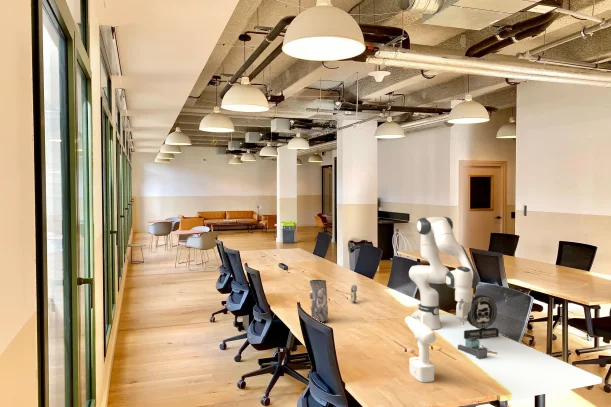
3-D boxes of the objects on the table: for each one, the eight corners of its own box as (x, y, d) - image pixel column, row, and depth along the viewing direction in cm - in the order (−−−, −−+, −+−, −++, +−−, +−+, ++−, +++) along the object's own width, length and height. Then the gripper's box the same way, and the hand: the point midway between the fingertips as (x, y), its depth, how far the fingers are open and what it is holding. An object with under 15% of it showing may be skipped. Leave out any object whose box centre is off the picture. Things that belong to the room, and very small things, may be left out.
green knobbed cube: (465, 347, 249) (465, 338, 249) (472, 346, 251) (473, 337, 251) (471, 350, 244) (471, 341, 244) (479, 349, 246) (479, 340, 246)
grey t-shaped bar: (455, 349, 245) (455, 338, 245) (463, 347, 248) (463, 336, 248) (479, 359, 231) (479, 346, 231) (487, 357, 234) (487, 344, 234)
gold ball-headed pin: (482, 352, 241) (482, 350, 241) (483, 351, 243) (483, 349, 243) (495, 354, 238) (495, 353, 237) (497, 353, 239) (497, 352, 239)
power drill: (415, 364, 225) (415, 314, 225) (440, 384, 202) (440, 328, 201) (399, 365, 223) (399, 315, 223) (422, 386, 200) (422, 329, 199)
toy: (334, 302, 354) (334, 283, 354) (365, 299, 361) (365, 281, 361) (338, 305, 345) (338, 285, 345) (370, 302, 352) (369, 283, 352)
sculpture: (327, 324, 294) (326, 281, 293) (308, 323, 296) (307, 281, 296) (329, 319, 305) (329, 278, 305) (311, 318, 308) (311, 277, 307)
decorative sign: (466, 340, 261) (466, 297, 260) (463, 338, 264) (463, 296, 263) (498, 336, 267) (498, 294, 266) (495, 335, 269) (495, 293, 269)
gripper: (465, 302, 233) (465, 328, 233) (473, 294, 250) (473, 319, 250) (452, 300, 236) (453, 326, 236) (461, 293, 254) (461, 317, 254)
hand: (463, 322), depth 244 cm, fingers open, 6 cm apart
